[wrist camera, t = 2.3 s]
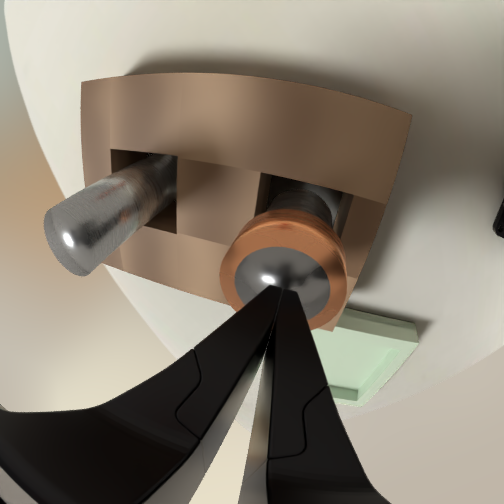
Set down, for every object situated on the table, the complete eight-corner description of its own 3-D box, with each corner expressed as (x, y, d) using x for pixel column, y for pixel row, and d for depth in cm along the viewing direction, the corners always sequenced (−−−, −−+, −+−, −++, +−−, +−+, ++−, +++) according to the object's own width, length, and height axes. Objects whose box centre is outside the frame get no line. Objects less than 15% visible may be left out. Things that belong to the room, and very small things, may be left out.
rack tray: (414, 323, 17) (419, 343, 16) (362, 389, 23) (361, 407, 21) (288, 293, 19) (283, 313, 17) (264, 369, 24) (259, 386, 23)
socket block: (392, 110, 11) (412, 114, 8) (334, 293, 18) (332, 331, 15) (120, 78, 13) (81, 81, 10) (125, 237, 20) (98, 261, 17)
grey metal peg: (197, 150, 15) (84, 215, 8) (194, 197, 17) (100, 285, 9) (154, 145, 15) (37, 202, 8) (154, 189, 17) (54, 264, 10)
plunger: (353, 190, 11) (366, 251, 7) (329, 265, 13) (323, 343, 9) (263, 169, 12) (224, 215, 8) (251, 245, 14) (216, 315, 10)
